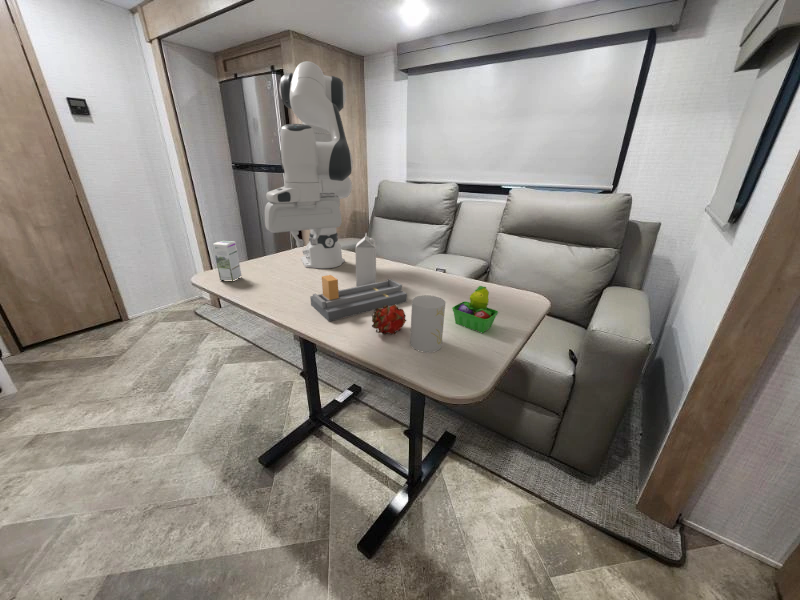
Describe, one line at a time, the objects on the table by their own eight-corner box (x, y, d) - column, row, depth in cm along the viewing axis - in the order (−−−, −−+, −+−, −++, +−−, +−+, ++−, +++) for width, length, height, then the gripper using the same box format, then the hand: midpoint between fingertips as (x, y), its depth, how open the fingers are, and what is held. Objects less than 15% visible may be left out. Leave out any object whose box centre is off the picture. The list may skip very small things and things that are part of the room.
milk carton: (356, 287, 121) (354, 236, 113) (357, 280, 127) (356, 232, 120) (375, 287, 121) (375, 236, 113) (376, 281, 127) (376, 232, 120)
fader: (321, 298, 101) (320, 276, 98) (333, 296, 103) (332, 274, 100) (328, 304, 97) (326, 281, 94) (340, 301, 99) (339, 279, 97)
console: (310, 305, 104) (308, 290, 102) (384, 288, 120) (385, 276, 118) (327, 321, 94) (326, 306, 92) (407, 301, 109) (407, 287, 107)
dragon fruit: (369, 343, 86) (399, 334, 95) (389, 335, 81) (420, 326, 89) (359, 313, 88) (390, 307, 96) (379, 303, 82) (410, 297, 91)
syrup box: (242, 277, 127) (236, 240, 121) (233, 282, 122) (226, 244, 116) (229, 276, 128) (222, 239, 122) (219, 281, 122) (211, 243, 117)
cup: (438, 354, 79) (442, 310, 75) (406, 349, 81) (408, 305, 77) (443, 339, 87) (447, 297, 82) (414, 334, 89) (416, 293, 84)
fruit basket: (449, 323, 95) (452, 287, 91) (464, 314, 101) (468, 280, 97) (484, 336, 88) (490, 298, 84) (498, 325, 95) (504, 289, 90)
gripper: (334, 191, 93) (336, 239, 98) (259, 193, 82) (266, 247, 87) (344, 193, 88) (346, 244, 93) (266, 195, 77) (273, 252, 82)
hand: (307, 245), depth 90 cm, fingers open, 3 cm apart
